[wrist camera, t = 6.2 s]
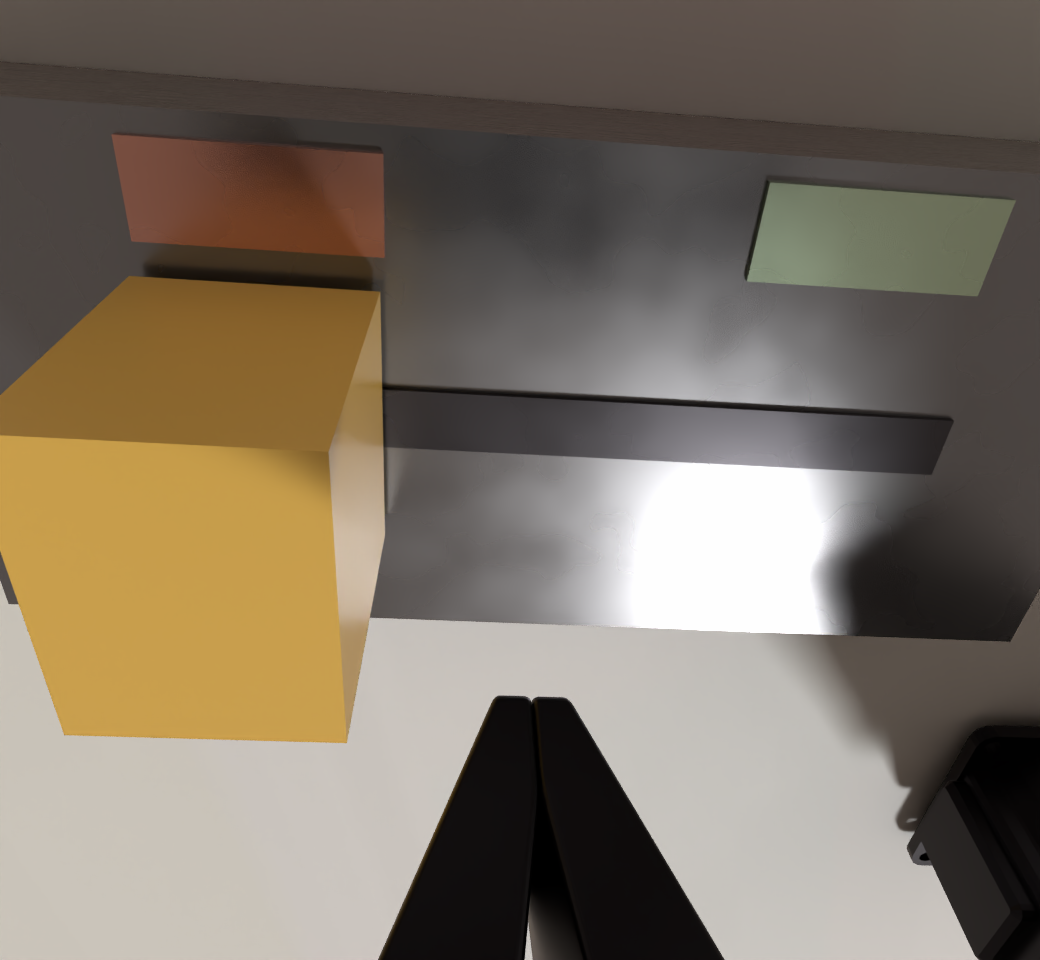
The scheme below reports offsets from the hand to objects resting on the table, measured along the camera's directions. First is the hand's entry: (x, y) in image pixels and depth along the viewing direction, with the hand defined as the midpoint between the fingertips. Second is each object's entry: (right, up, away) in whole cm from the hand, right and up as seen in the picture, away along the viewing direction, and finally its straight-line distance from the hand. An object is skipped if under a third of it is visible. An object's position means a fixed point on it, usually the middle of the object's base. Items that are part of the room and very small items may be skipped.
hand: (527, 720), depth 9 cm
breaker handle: (-5, +4, +5) cm, 8 cm away
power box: (0, +5, +8) cm, 10 cm away
